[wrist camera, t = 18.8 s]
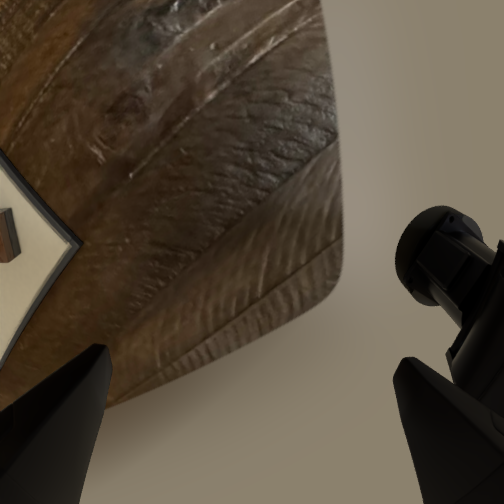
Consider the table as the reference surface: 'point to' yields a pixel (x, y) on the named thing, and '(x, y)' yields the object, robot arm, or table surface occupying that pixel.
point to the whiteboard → (29, 255)
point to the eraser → (8, 237)
